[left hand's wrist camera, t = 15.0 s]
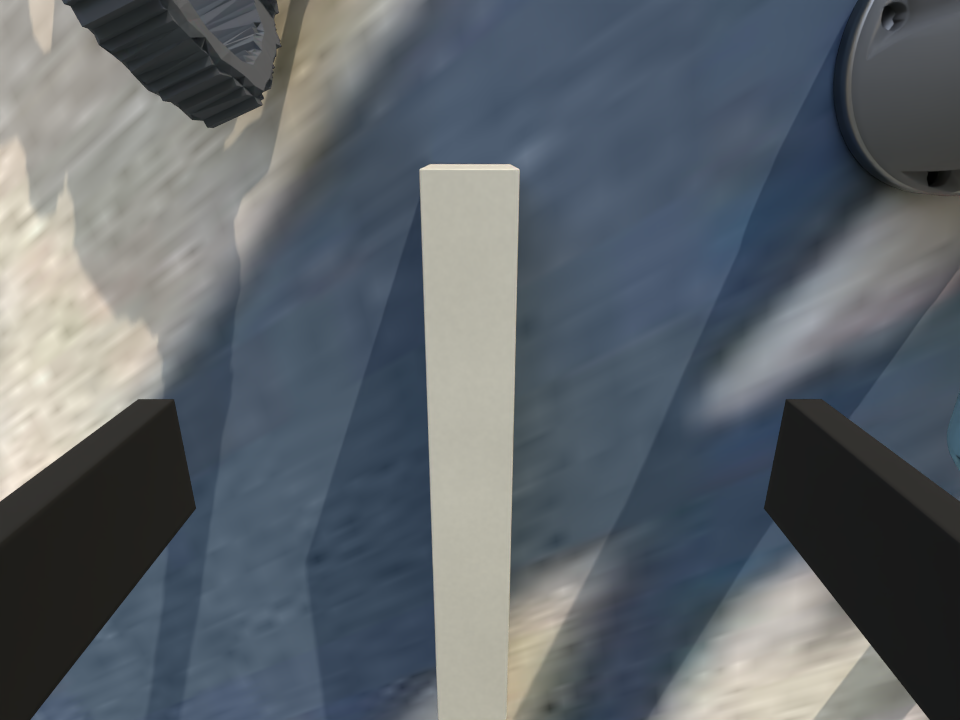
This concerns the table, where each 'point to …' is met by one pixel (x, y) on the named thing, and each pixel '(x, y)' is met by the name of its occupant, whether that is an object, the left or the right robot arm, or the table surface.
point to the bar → (470, 424)
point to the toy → (191, 49)
